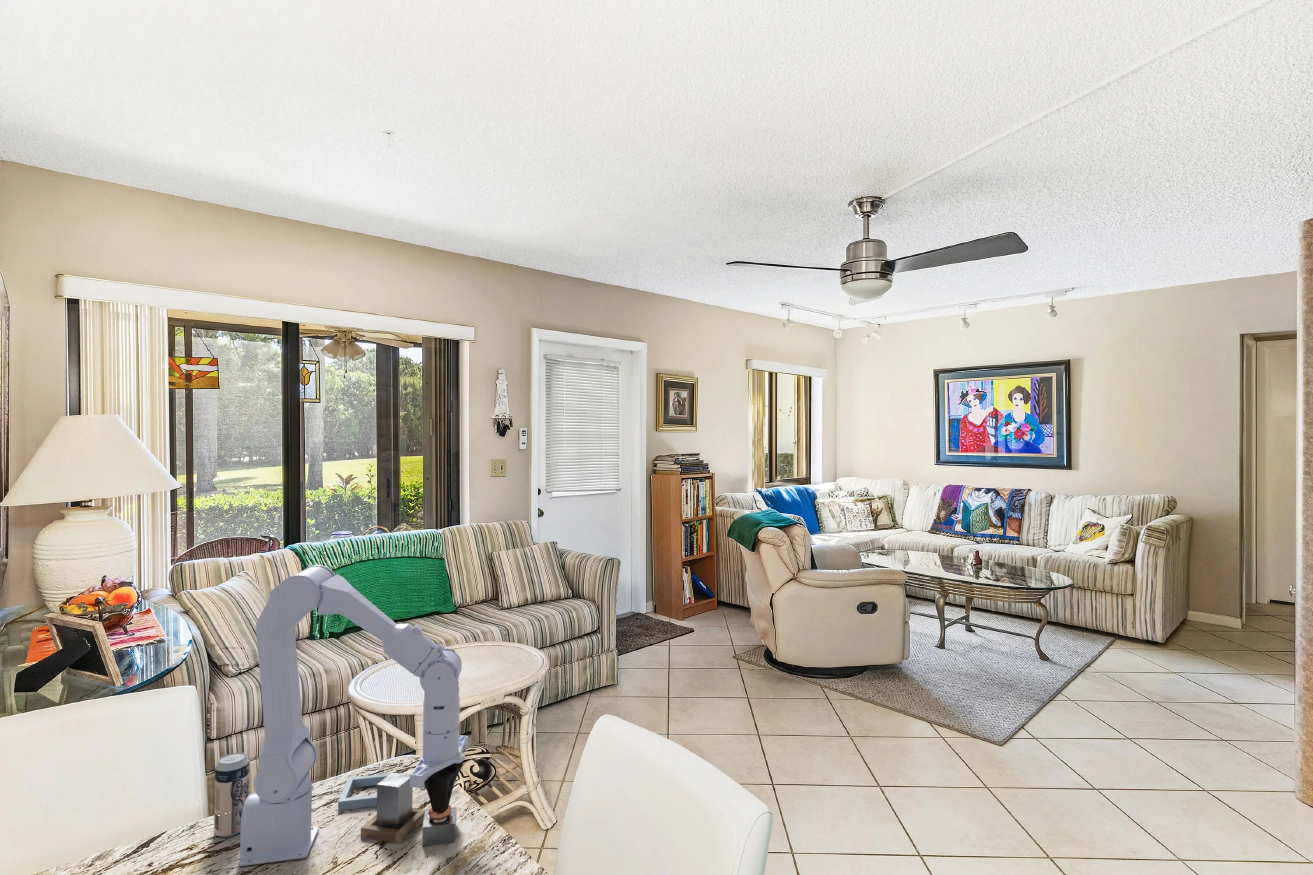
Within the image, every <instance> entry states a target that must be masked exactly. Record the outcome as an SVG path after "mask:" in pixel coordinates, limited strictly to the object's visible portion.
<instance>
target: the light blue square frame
mask: <svg viewBox="0 0 1313 875" xmlns="http://www.w3.org/2000/svg"><path fill="white" fill-rule="evenodd" d="M391 773H392V772H390V773H381V774H372V775H362V776H352V777H351V776H350V777H348V778H347V780H346V783H345V785H344V787H343V790H342V792H341V794H340V796H339V798H338V801H337V811H345V810H352V809H361V808H369V807H372V808H373V807H377V794H372V795H369V794H368V795H363V796H362V795H361V796H353V797H350V796H351V794H352V791H353V789H354V788H356V789H357V788H363V787H365V788H366V787H373V786H377V784H378V783H379V782H381V781H382V780H383V779H385V778H386V777H387V776H388V775H390V774H391Z"/></svg>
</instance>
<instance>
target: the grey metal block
mask: <svg viewBox="0 0 1313 875" xmlns="http://www.w3.org/2000/svg"><path fill="white" fill-rule="evenodd" d="M390 773H391V774H390V775H388V776H387V777H386V778H385V779H383V780H382V781H381V782H379V783H378V784H377V785H376V795H377V806H376V814H377V826H378V827H384V828H391V829H397V830H400V829H401V828H402V827H403V826H404V825H405V824H406V823H407V822H408V821H409V820H410V819H411V818H412V808H413V788H414V787H410V774H405V773H398V772H390Z"/></svg>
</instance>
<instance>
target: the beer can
mask: <svg viewBox="0 0 1313 875" xmlns="http://www.w3.org/2000/svg"><path fill="white" fill-rule="evenodd" d="M249 795H250V758H249V757H248V756H247V754H246V753H245V752H233V753H229V754H226V755H223V756H221V757H220V758H219V760H218V761H217V763H216V765H215V767H214V812H213V813H214V816H213V817H214V819H213V832H214V835H215V836H216V837H222V838H229V837H234V836H237V835H238V834H241V816H242V811H243V807H244V803H245V801H246V799H247V797H248V796H249ZM229 812H230V813H229ZM225 813H227V814H225ZM218 815H220V816H218Z"/></svg>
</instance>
